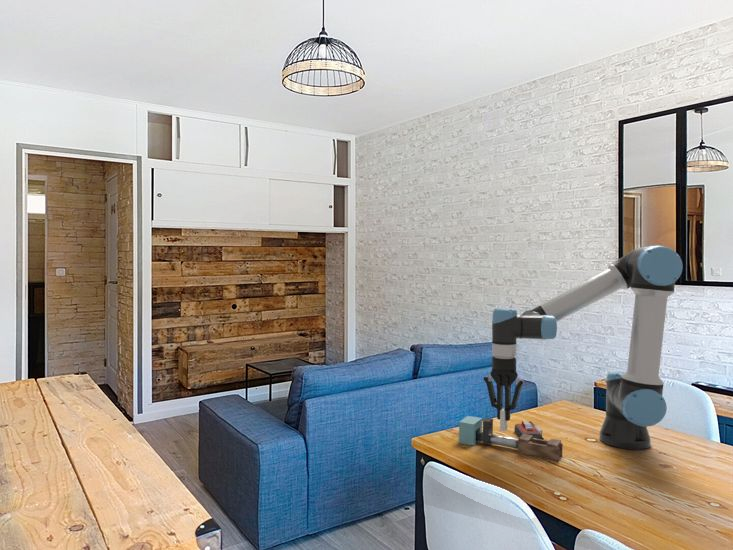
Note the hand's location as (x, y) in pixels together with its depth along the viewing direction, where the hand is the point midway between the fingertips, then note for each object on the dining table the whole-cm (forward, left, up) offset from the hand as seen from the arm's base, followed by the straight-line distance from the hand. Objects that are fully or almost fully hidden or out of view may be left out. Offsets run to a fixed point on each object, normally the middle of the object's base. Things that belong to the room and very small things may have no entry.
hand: (503, 429), depth 170 cm
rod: (+1, 0, -5) cm, 5 cm away
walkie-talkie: (-3, -18, -6) cm, 20 cm away
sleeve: (-12, 0, -6) cm, 13 cm away
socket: (+11, 0, -6) cm, 12 cm away
